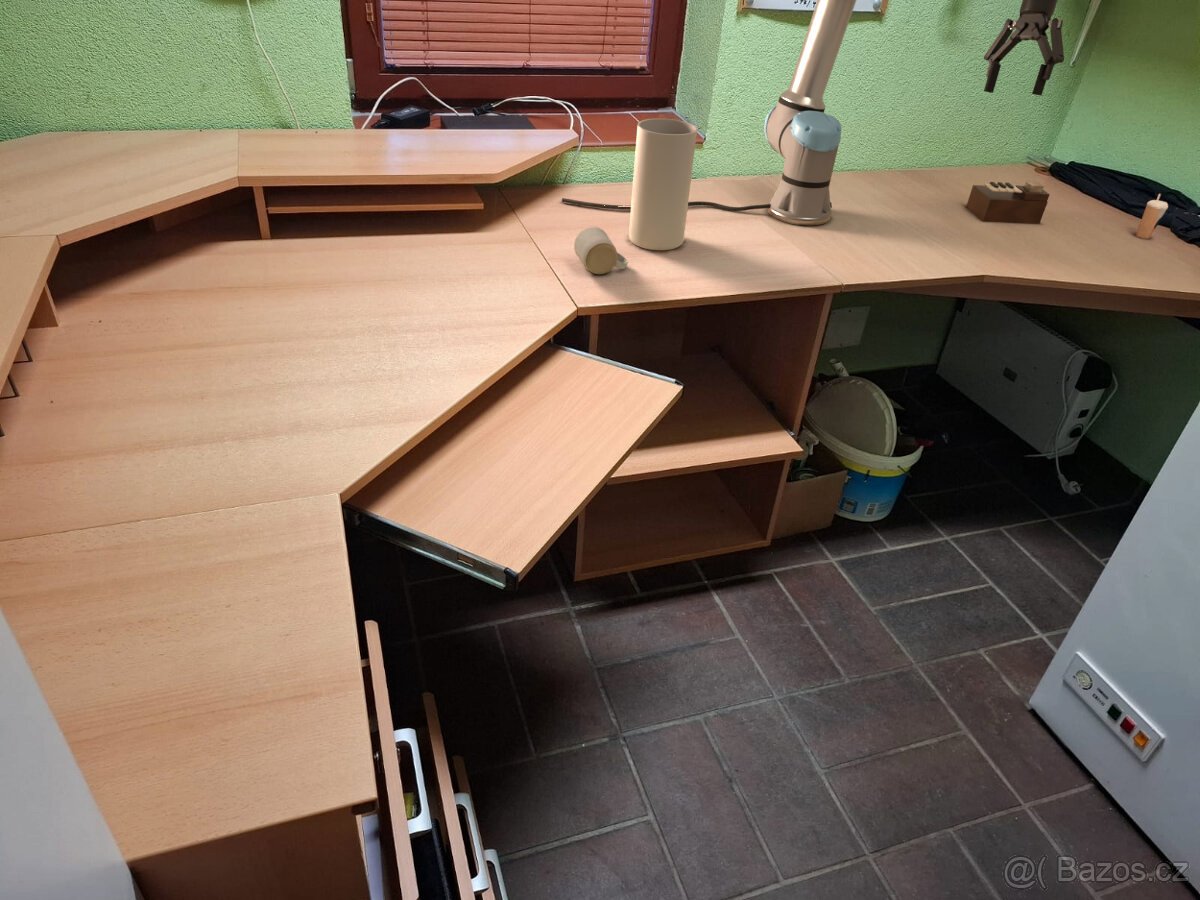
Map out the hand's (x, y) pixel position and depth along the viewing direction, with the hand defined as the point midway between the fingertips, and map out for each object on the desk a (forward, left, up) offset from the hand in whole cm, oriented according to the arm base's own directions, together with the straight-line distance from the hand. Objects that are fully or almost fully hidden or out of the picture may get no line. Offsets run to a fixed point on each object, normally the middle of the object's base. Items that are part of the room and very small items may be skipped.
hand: (1011, 93), depth 200 cm
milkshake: (+37, -17, -29) cm, 50 cm away
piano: (+5, -6, -28) cm, 29 cm away
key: (+10, -8, -21) cm, 25 cm away
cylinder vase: (-89, -34, -29) cm, 99 cm away
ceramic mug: (-102, -50, -29) cm, 117 cm away
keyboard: (+2, -8, -21) cm, 22 cm away
